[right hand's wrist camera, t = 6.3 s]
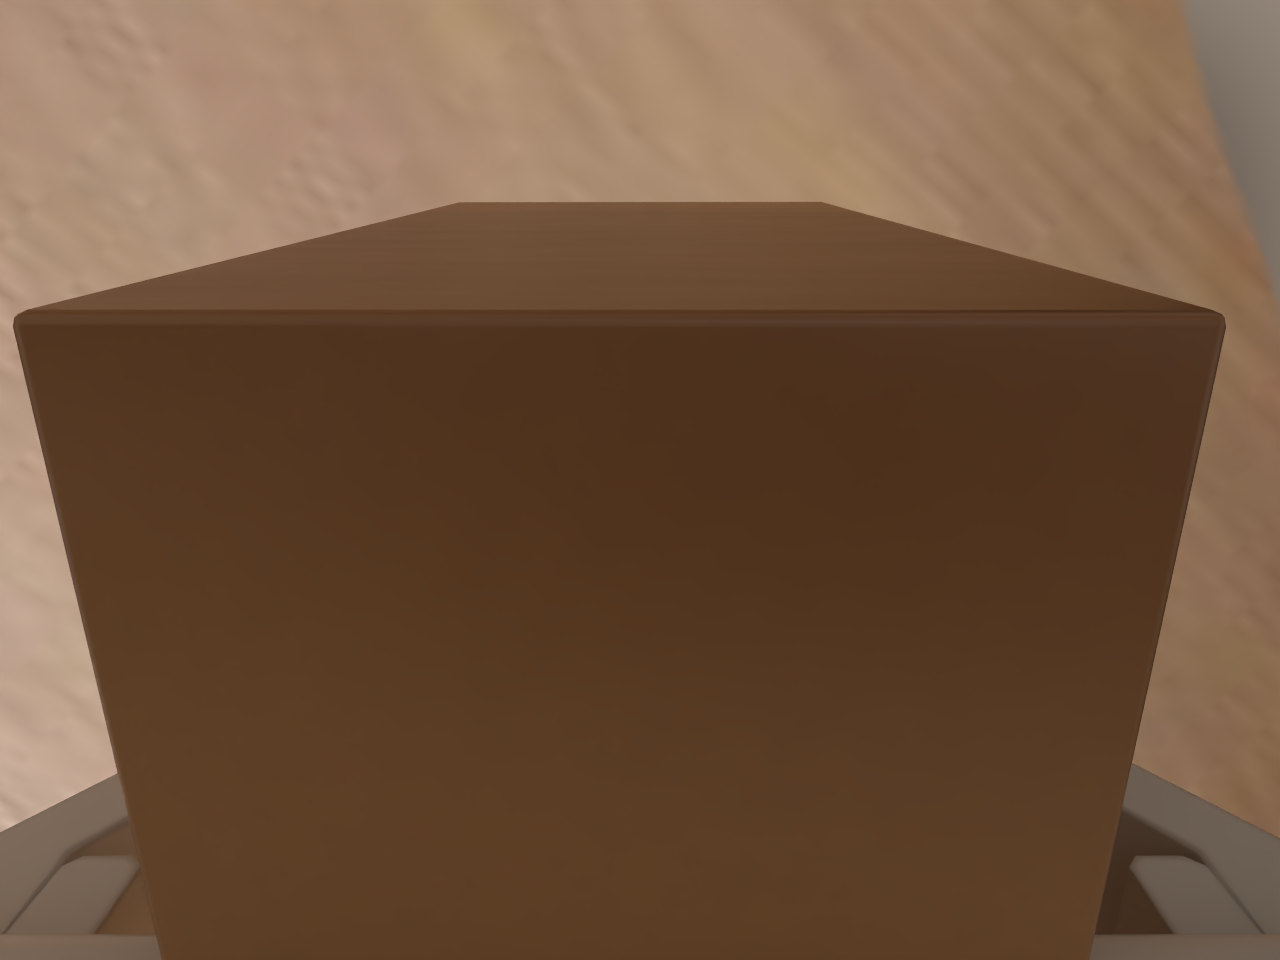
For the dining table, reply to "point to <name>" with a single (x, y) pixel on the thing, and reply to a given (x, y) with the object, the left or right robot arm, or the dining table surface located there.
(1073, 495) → the beam
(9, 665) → the dining table surface
